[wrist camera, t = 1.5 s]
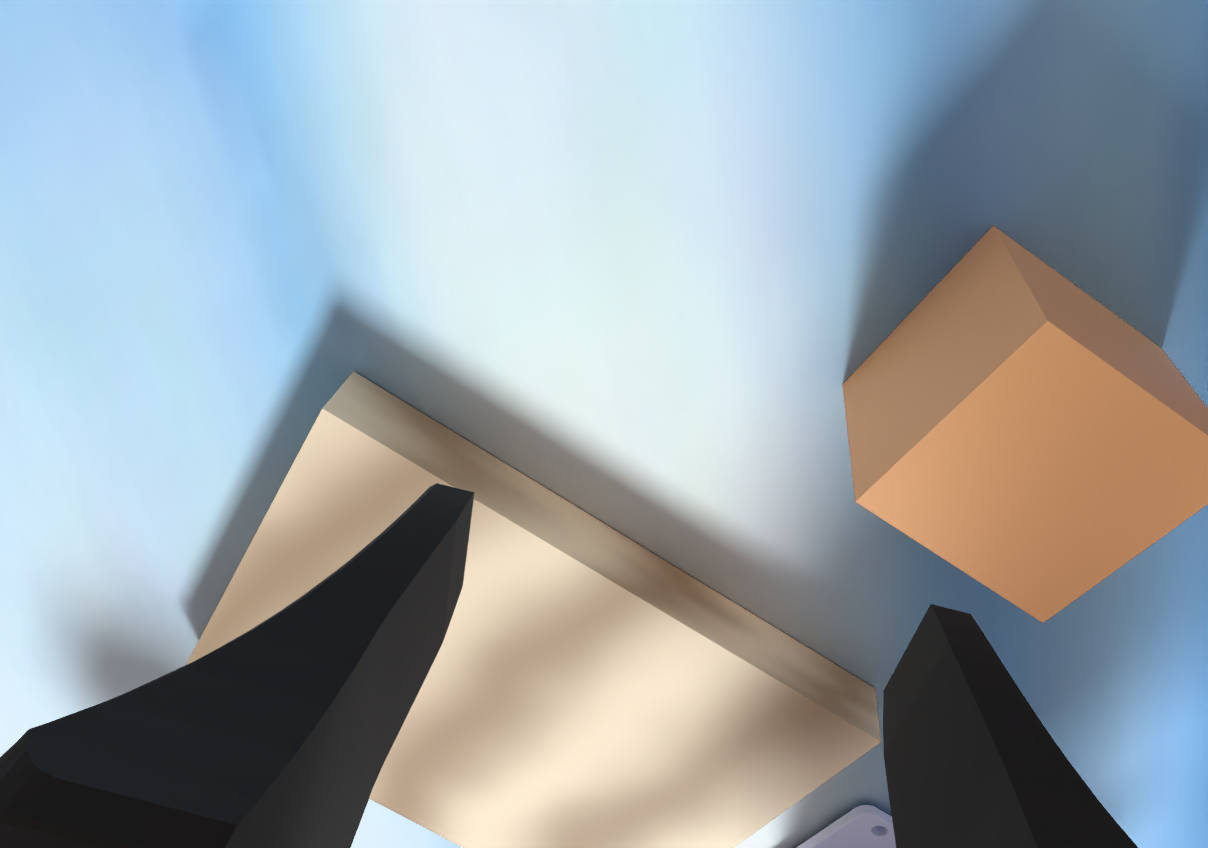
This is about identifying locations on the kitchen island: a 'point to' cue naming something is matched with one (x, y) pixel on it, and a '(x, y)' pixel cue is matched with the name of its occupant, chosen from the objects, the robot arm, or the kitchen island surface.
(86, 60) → the kitchen island surface
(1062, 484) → the block
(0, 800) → the robot arm
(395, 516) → the base board
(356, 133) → the kitchen island surface
